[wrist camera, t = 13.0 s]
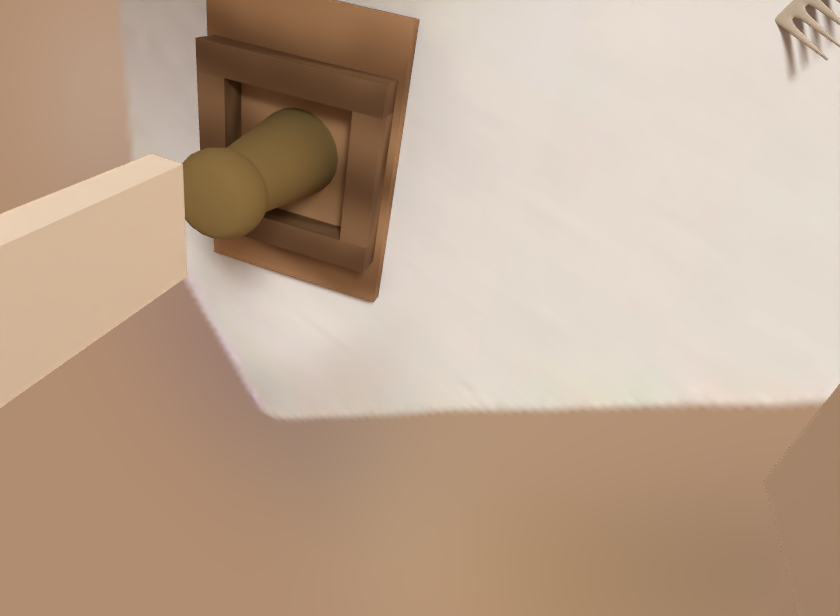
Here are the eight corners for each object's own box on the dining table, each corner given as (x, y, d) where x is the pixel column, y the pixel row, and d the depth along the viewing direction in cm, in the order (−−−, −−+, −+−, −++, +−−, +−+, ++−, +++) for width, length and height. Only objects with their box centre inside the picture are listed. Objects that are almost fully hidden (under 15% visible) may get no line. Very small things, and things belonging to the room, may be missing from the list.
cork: (252, 169, 43) (149, 224, 33) (270, 91, 39) (161, 128, 30) (324, 208, 42) (240, 273, 33) (348, 132, 39) (262, 182, 30)
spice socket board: (215, -27, 37) (185, -27, 35) (419, 19, 35) (403, 22, 33) (221, 247, 48) (199, 262, 46) (378, 296, 46) (363, 314, 43)
